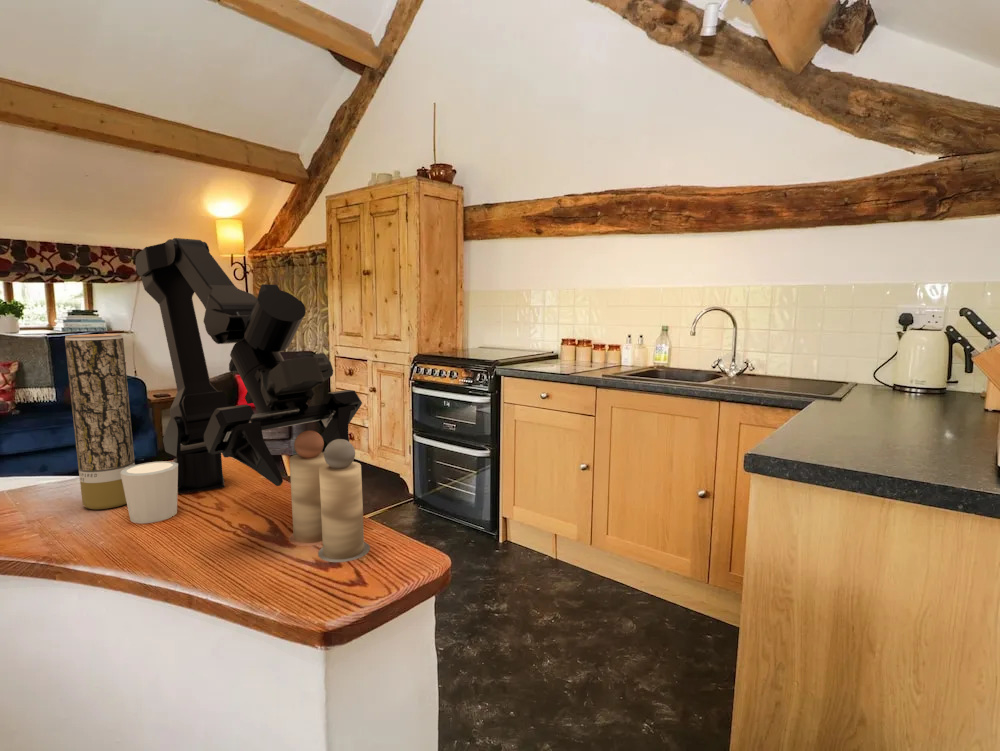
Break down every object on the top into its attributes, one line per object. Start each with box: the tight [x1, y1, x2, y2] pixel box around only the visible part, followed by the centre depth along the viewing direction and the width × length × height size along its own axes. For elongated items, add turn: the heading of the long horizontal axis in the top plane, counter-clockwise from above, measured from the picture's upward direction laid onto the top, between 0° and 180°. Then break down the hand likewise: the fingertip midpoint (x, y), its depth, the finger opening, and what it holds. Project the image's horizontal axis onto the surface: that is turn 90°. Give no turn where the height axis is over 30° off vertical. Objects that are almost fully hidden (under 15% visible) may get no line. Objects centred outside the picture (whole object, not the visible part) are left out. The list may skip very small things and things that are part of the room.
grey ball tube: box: [319, 439, 365, 560], centre depth 64 cm, size 5×5×13 cm
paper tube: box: [64, 333, 136, 510], centre depth 82 cm, size 7×7×25 cm
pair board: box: [288, 533, 371, 563], centre depth 67 cm, size 13×7×1 cm, turn 49°
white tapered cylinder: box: [120, 460, 178, 524], centre depth 78 cm, size 7×7×7 cm
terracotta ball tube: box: [289, 430, 327, 543], centre depth 68 cm, size 5×5×13 cm
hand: (316, 474), depth 67 cm, fingers open, 9 cm apart
